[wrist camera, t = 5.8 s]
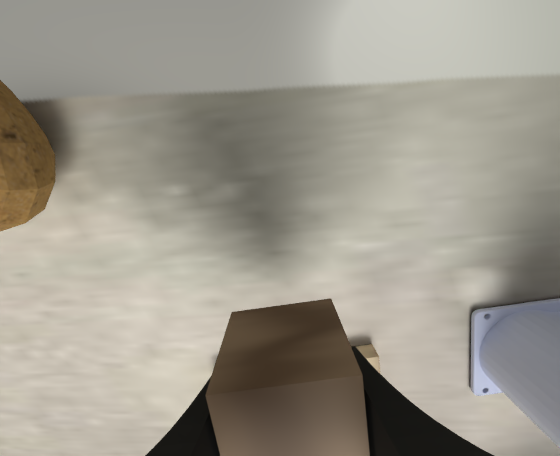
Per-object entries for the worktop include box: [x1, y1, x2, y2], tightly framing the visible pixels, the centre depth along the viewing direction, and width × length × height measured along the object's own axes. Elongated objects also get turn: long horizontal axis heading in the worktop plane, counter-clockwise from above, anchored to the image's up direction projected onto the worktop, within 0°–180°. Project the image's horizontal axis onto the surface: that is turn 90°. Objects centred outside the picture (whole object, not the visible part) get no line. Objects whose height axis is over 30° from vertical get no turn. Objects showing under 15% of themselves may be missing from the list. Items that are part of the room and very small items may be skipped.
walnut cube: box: [205, 299, 370, 456], centre depth 11 cm, size 5×5×5 cm
